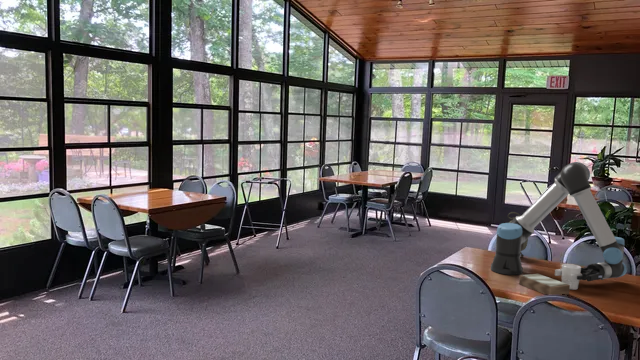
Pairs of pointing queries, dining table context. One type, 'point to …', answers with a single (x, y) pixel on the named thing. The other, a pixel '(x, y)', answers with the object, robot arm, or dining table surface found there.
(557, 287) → the board
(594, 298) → the dining table surface
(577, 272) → the white cup
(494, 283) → the dining table surface
